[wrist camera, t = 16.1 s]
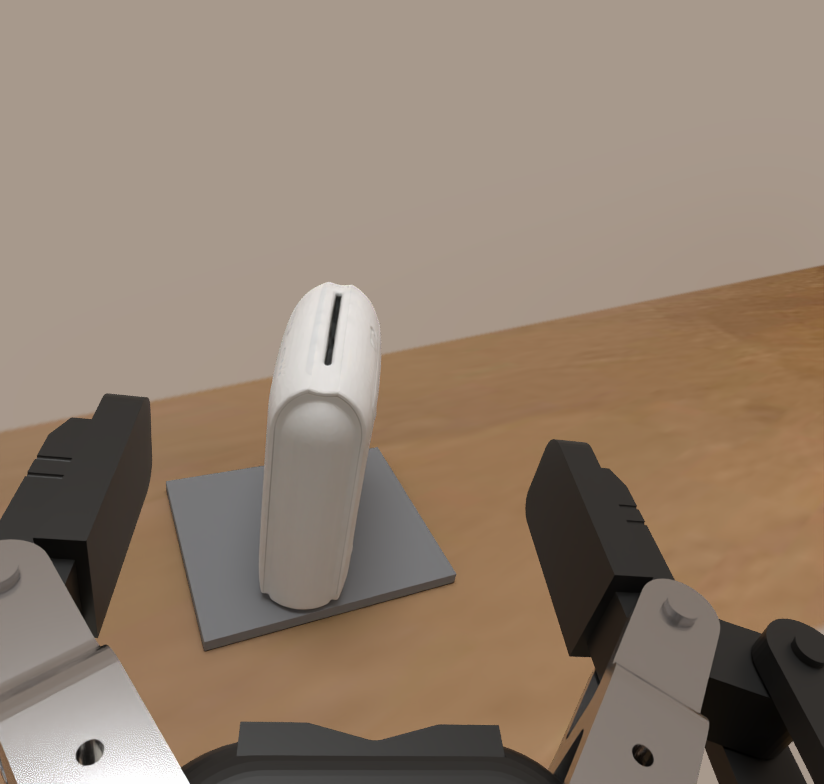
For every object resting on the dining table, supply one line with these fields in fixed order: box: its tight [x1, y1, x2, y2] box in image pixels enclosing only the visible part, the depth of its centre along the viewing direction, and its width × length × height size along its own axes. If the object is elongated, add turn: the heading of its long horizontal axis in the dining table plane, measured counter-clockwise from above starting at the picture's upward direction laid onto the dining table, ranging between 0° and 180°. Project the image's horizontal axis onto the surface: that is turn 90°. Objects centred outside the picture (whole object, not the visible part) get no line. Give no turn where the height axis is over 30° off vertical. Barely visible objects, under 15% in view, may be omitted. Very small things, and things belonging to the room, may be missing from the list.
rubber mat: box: [166, 447, 456, 651], centre depth 33 cm, size 12×10×1 cm
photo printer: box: [259, 282, 381, 609], centre depth 30 cm, size 10×4×12 cm, turn 1°
